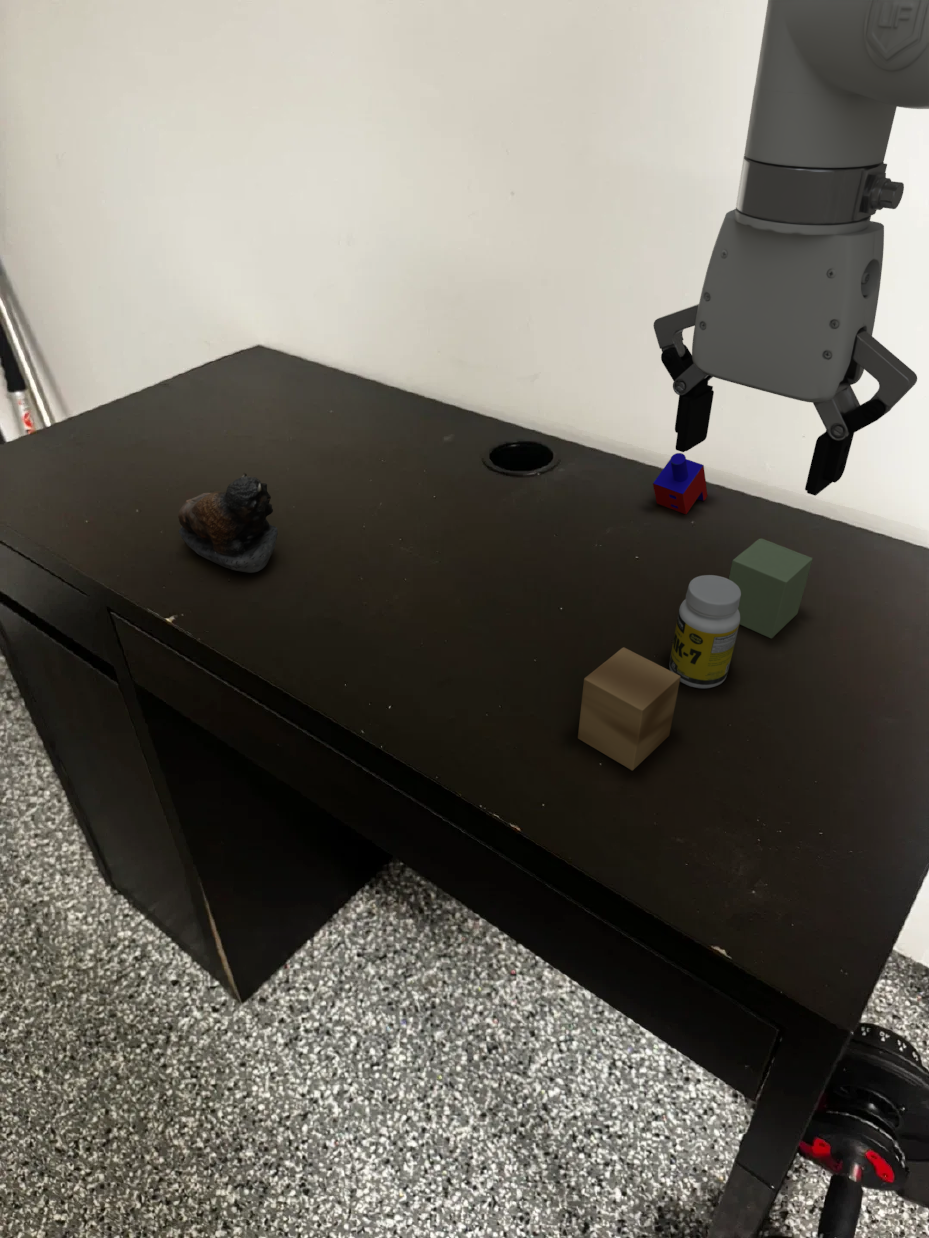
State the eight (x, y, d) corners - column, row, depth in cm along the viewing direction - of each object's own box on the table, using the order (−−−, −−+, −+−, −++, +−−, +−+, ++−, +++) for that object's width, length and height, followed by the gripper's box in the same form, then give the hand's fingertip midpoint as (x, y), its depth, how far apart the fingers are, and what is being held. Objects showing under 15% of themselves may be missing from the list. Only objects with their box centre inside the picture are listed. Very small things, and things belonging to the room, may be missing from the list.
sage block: (747, 592, 83) (760, 537, 79) (797, 614, 80) (813, 558, 77) (720, 615, 80) (732, 559, 77) (771, 639, 77) (786, 582, 74)
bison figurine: (167, 550, 89) (146, 458, 83) (224, 522, 93) (208, 433, 87) (244, 595, 83) (227, 499, 77) (301, 563, 87) (289, 470, 81)
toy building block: (658, 513, 98) (649, 466, 91) (678, 485, 99) (670, 437, 92) (687, 524, 96) (679, 477, 89) (707, 495, 97) (701, 447, 91)
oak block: (615, 705, 71) (623, 646, 67) (669, 735, 68) (681, 675, 64) (577, 738, 68) (583, 678, 64) (632, 771, 65) (642, 710, 61)
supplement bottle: (657, 662, 75) (671, 579, 70) (702, 647, 76) (719, 565, 71) (691, 697, 71) (709, 612, 66) (739, 680, 73) (759, 597, 68)
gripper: (986, 203, 49) (900, 485, 59) (706, 168, 58) (672, 416, 68) (936, 227, 44) (852, 528, 54) (641, 185, 54) (616, 447, 64)
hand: (752, 465), depth 61 cm, fingers open, 9 cm apart
